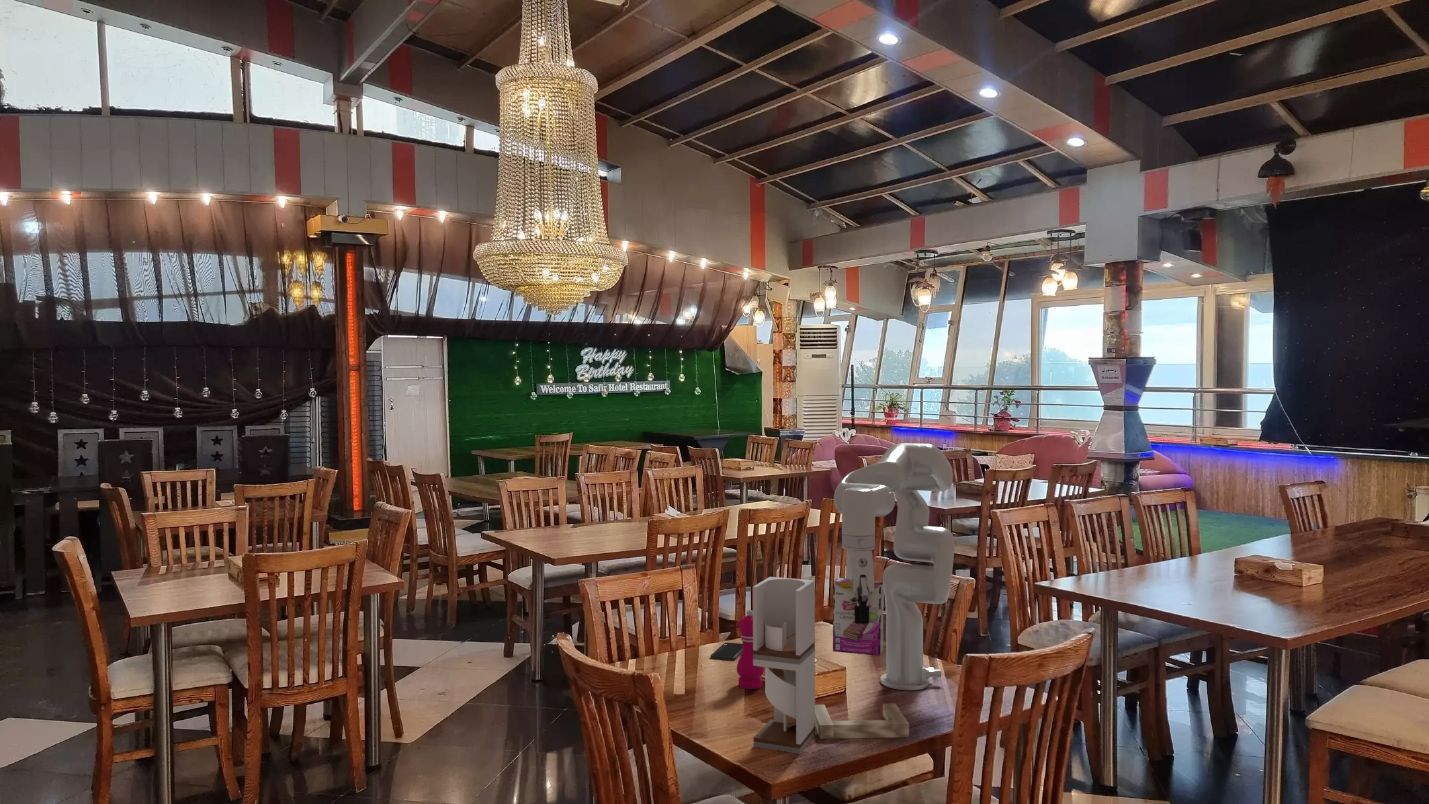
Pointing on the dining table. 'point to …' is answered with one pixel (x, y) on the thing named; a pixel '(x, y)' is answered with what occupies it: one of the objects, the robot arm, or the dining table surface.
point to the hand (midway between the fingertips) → (858, 618)
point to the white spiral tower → (786, 660)
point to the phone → (728, 652)
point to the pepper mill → (748, 656)
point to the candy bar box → (844, 627)
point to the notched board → (862, 725)
